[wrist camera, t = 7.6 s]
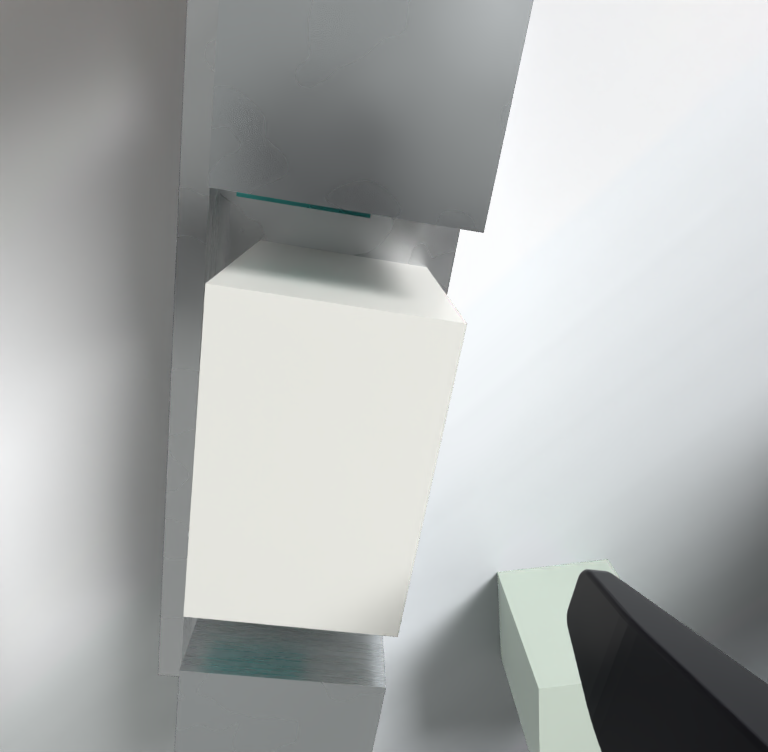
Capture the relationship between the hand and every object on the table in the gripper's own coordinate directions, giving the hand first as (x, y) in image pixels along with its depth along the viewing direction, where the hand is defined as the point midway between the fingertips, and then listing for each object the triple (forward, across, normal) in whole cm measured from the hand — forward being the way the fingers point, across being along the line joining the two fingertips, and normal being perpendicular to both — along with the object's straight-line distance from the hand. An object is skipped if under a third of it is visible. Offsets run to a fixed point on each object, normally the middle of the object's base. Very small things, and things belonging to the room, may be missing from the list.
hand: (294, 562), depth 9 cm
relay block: (+10, -10, +8) cm, 16 cm away
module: (+8, 0, 0) cm, 8 cm away
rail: (+10, 0, 0) cm, 10 cm away
